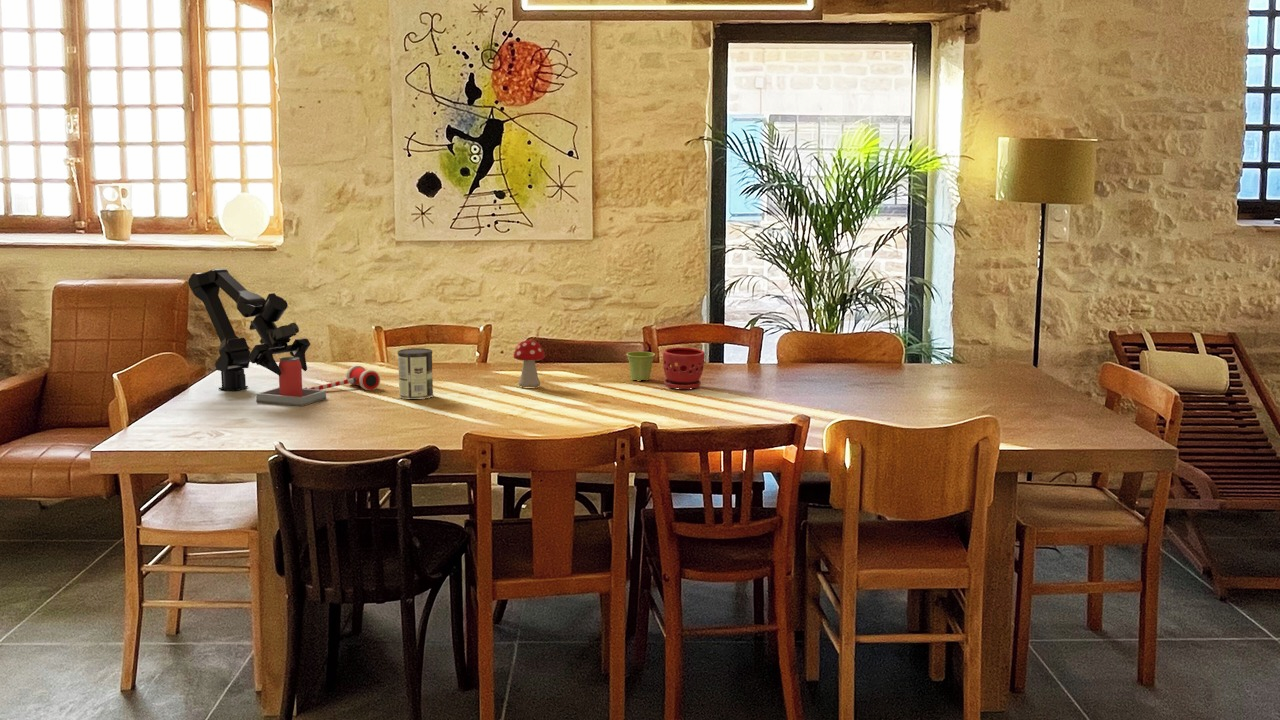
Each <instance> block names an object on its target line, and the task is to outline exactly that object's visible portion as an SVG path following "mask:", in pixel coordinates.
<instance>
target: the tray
mask: <svg viewBox="0 0 1280 720" xmlns="http://www.w3.org/2000/svg"><path fill="white" fill-rule="evenodd" d="M302 395H303V396H302V397H294V396H283V395H280V391H279V386H277V387H275V388H272V389H268V390H265V391H261V392H258V393H256V394H255V400H256V401H255V402H256V403H261V402H262V403H263V404H273V405H274V404H275V405H284V406H293V407H294V406H295V407H304V406H308V405H310V404H311V405H312V404H313V403H317V402H321V401H323V400H327V390H326V389H322V390H314V389H303V388H302Z"/></svg>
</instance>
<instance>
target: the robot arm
mask: <svg viewBox="0 0 1280 720" xmlns="http://www.w3.org/2000/svg"><path fill="white" fill-rule="evenodd" d="M187 283H188V287H189V289H190V290H191V292H192V293H193V295H194V296H195V297H196V298H198V299H199V300H200V301H201V302H202V303H203V306H205V307H204V308H205V309H206V312H207V314H208V316H209V318H210V321H211V323H212V326H213V328H214V330H215V333H216V335H217V337H218V339H219V342H220V343H219V349H218V352H219V356H218V358H217V360H216V361H215V363H214V366H215V369H216V371H220V374H221V378H220V379H221V387H220V386H219V387H218V390H219V389H224V390H223V391H230V390H237V391H240V390H239V389H241V390H243V389H242V388H244V389H248V388H249V385H246V383H247V381H246V374H245V369H249V366H250V362H251V364H256V366H261V367H263V368H264V369H265V368H266V369H267V370H269V371H270V372H272V373H274V374H276V375H278V377H279V376H280V375H281V374H282V373H281V371H280V368H279V364H278V363H277V362H276V360H275V358H274V355H278V354H279V355H280V354H287V353H289V354H290V356H291V357H298V358H299V360H300V362H301V367H302V371H304V372H307V370H308V365H307V359H306V352H307V350H308V349H309V347H310V346H311V345H312V344H311V342H310V341H309V339H308V338H305V337H304V338H303V337H301V338H296V339H294V341H293V342H292V344H288V343H290V341H292V340H291V337H294V336H297V334H298V333H299V332H300V328H299V326H298V325H297V323H296V322H291V323H289V324H285V325H281V326H277V325H276V323H277V322H278V321H280V319H281V318H282V316H283V314H284V313H285V311H286V310H287V309H288V302H287V300H285V299H284V298H283V297H281V296H279V295H277V294H276V293H275V292H274V293H268V295H267V297H266V299H265V298H264V297H263V296H261V295H259V294H258V293H255V292H251V291H249V290H248V289H246V288H245V287H244V286H243V285H242V284H241V283H240V282H239V281H238V280H237V279H235V278H234V277H233V276H232V275H231V274H230V273H229V271H228V270H227V269H226V268H213V269H211V270H208V271H205V272H195V273H192V274H191V275H190V277H189V278H188V281H187ZM220 289H221V290H222V291H223V292H224V293H225V294H226V295H227V296H228V297H229V298H231V299H232V300H233V301H234V302H235V304H236V309H237V310H238V311H239V313H240V314H241V316H243V317H244V318H247V319H248V318H253V320H251V321H250V324H249V330H250V331H252V330H255V331H256V332H257V334H258V336H259V337H260V340H259V343H260V344H255V345H254V347H253V348H252V349H251V351H250V347H249V345H248V343H247V339H246V338H245V337H238V336H237V335H236V334H237V333H236V332H235V331H234V327H233V325H232V323H231V321H230V318H229V316H228V314H227V312H226V310H225V308H224V305H223V302H222V301H221V298H220V296H219V294H220ZM275 322H276V323H275ZM247 387H248V388H247Z"/></svg>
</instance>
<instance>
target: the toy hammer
mask: <svg viewBox="0 0 1280 720" xmlns="http://www.w3.org/2000/svg"><path fill="white" fill-rule="evenodd" d="M345 375H346V376H345V377H346V379H343V380H338V381H334V382H330V383H325V384H320V385H317V386H312V387H302V389H314V390H326V389H329V388H334V387H338V386H343V385H344V386H345V385H348V384H350V385H352V386H360V387H361V388H362V389H363V390H366V391H371V389H373V390H376V389H377V388H378V387H379V386H380V384H381V377H380V374H379V373H378V372H377V371H375V370H373V369H365V367H363V366H362V365H359V364H357V365H356V364H355V365H352V366H351V367H349V369H347V372H346V374H345Z"/></svg>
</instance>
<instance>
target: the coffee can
mask: <svg viewBox="0 0 1280 720" xmlns="http://www.w3.org/2000/svg"><path fill="white" fill-rule="evenodd" d="M397 358H398V359H397V362H398V363H397V364H398V389H399V391H398V392H399V393H398V397H400V398H399V399H401V398H402V399H401V400H406V399H422V400H425V399H424V398H428V399H430V398H429V397H432V396H433V397H434V390H433V389H434V387H433V386H434V385H433V381H434V380H433V378H434V377H433V350H432V349H429V348H420V347H419V348H418V347H417V348H415V347H414V348H404V349H400V350H397ZM433 397H432V398H433Z"/></svg>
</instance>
